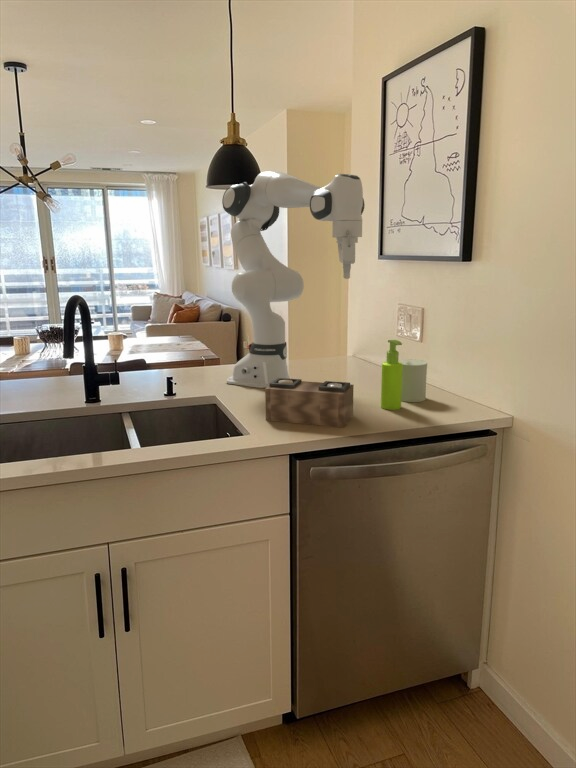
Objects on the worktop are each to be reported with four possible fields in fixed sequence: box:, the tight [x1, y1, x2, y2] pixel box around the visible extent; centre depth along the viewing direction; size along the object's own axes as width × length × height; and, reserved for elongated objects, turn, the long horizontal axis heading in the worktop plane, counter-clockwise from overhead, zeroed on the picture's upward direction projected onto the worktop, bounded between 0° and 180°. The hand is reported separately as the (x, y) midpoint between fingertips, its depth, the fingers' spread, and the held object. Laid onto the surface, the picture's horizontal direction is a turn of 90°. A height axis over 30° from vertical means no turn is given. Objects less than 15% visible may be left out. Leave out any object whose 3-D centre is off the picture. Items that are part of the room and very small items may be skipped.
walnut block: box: [264, 378, 354, 428], centre depth 155 cm, size 22×11×10 cm, turn 71°
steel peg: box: [327, 383, 342, 387], centre depth 152 cm, size 4×4×8 cm
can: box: [398, 358, 428, 403], centre depth 174 cm, size 9×9×12 cm
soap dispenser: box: [380, 339, 403, 411], centre depth 163 cm, size 6×7×20 cm
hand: (346, 278), depth 170 cm, fingers closed
